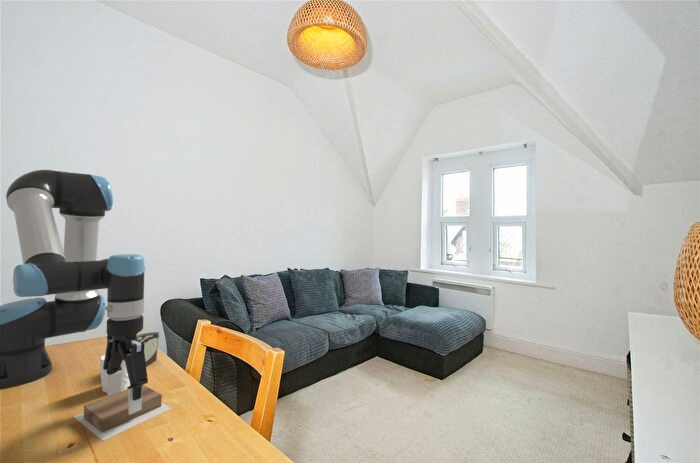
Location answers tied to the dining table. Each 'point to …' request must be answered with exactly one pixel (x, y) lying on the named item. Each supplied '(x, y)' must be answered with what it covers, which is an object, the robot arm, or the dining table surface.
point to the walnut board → (119, 409)
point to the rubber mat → (125, 425)
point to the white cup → (104, 375)
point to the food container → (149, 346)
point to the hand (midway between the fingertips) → (124, 405)
